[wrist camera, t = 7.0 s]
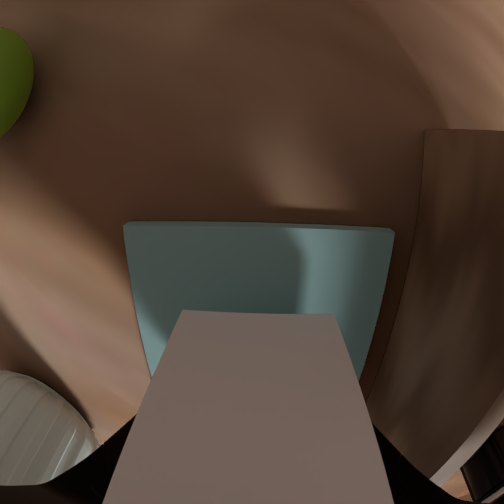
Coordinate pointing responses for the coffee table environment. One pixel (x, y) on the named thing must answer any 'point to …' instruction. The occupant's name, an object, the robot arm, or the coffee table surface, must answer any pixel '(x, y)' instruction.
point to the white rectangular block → (252, 418)
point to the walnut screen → (449, 311)
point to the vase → (38, 432)
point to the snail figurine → (14, 77)
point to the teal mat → (257, 275)
